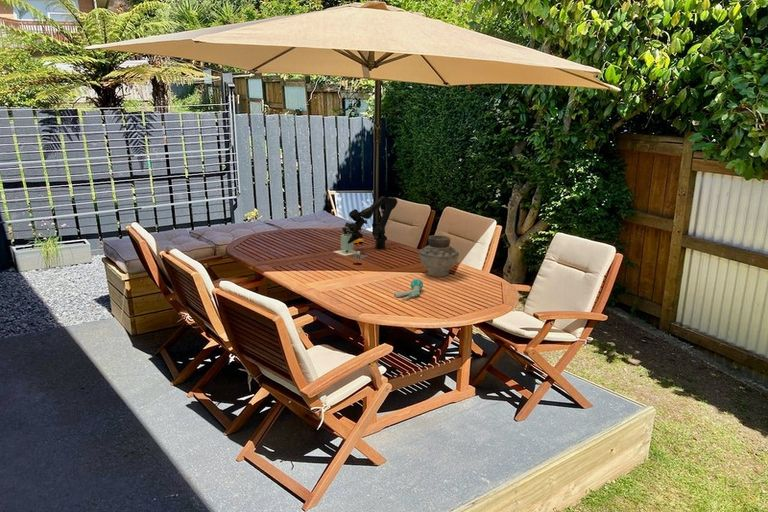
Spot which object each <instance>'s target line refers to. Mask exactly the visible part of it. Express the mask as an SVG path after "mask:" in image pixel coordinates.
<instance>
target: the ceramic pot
mask: <svg viewBox="0 0 768 512" xmlns="http://www.w3.org/2000/svg"><path fill="white" fill-rule="evenodd" d="M427 240H428V245H426V246H424V247H423V248H422V249H420V250H419V251H418V258H419V261H420V263H421V265H422V266H423V268H425V269H426V270H427V275H428V276H431V277H436V278H437V277H445V276H449V273H450V270H451V269H452V268H453V267H454V266H455V265H456V263H457V262H458V259H459V255H460V252H459V251H458V250H456V249H455V248H454V247H453V246H451V245H450V243H451V237H450V236H449V235H448V236H447V235H438V234H437V235H435V234H434V235H429V236H428V239H427Z"/></svg>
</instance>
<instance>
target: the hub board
mask: <svg viewBox="0 0 768 512" xmlns="http://www.w3.org/2000/svg"><path fill="white" fill-rule="evenodd" d="M357 251H358V250H355V249H352V250H347V251H346V250H343V249H341V250H334V251H333V253H332V254H334V253H336V254H337V255H338V254H339V255H341V256H349V255H350V256H352V255H354V254H357Z"/></svg>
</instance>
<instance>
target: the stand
mask: <svg viewBox="0 0 768 512" xmlns="http://www.w3.org/2000/svg"><path fill="white" fill-rule="evenodd" d="M356 251H357V254H351V255H350V256H349V258H354V259H360V260H361V259H364V258H367V257H368V256H369V255H367V254H361V251H360V250H356Z"/></svg>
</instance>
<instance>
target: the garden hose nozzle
mask: <svg viewBox="0 0 768 512" xmlns="http://www.w3.org/2000/svg"><path fill="white" fill-rule="evenodd" d="M410 287H411V290H405V291H399V292H394V293H393V296H394V297H395V298H396V297H398V298H401V297H403V298H402V299H401V300H405V301H407V299H408V300H409V299H411V298H416V297H418V296H419V295H420V294H421V293H420V291H422V289H423V287H424V282H423V280H422V279H420V278H413V279H412V280H411V281H410ZM404 296H405V297H404Z"/></svg>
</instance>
